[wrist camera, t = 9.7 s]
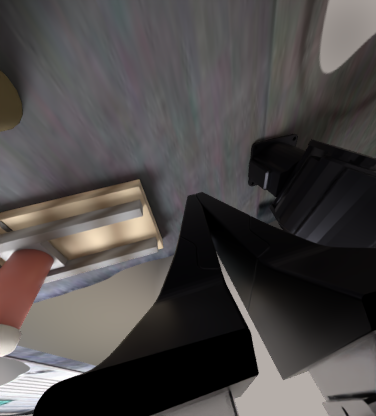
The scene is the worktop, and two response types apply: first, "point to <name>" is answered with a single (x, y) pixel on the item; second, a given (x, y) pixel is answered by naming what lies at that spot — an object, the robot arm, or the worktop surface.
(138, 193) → the plug rig
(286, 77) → the worktop surface
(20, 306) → the red plug
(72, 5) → the worktop surface
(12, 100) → the cork
